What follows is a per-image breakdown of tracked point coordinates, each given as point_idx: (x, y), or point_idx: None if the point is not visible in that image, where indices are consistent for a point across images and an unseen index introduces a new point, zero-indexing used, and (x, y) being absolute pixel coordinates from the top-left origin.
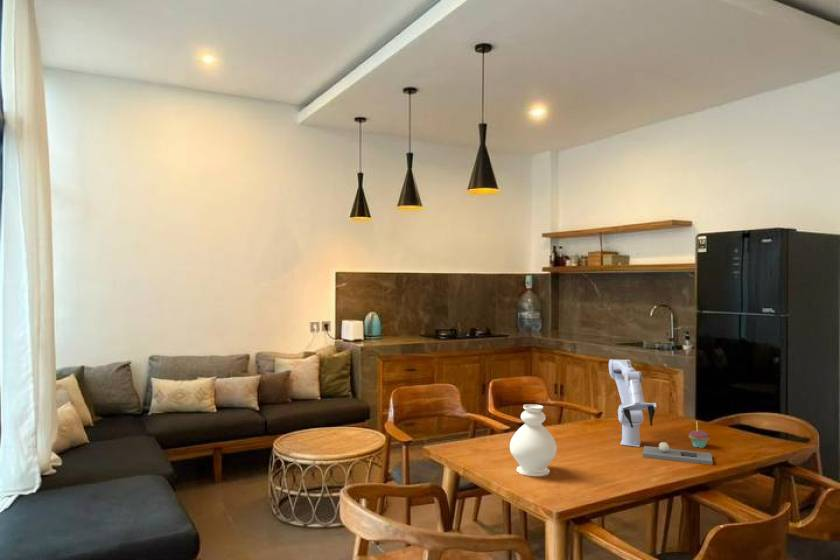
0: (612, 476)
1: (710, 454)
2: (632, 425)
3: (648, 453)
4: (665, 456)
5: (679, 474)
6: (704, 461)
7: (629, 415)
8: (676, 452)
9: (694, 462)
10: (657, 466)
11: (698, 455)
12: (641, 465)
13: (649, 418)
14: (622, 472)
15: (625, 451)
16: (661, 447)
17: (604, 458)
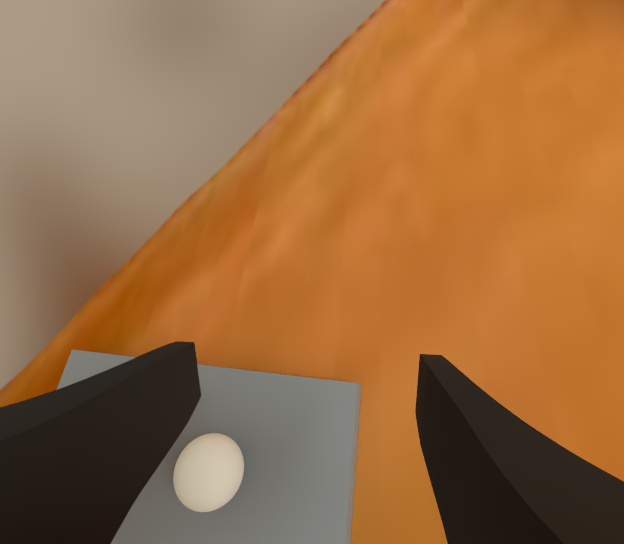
0: (488, 50)
1: None
2: (421, 354)
3: (322, 394)
4: (239, 369)
5: (238, 187)
6: (99, 353)
7: (504, 451)
8: (164, 470)
9: None
10: (301, 246)
11: None
12: (371, 231)
13: (146, 364)
14: (453, 108)
15: None
16: (227, 439)
17: (606, 273)
